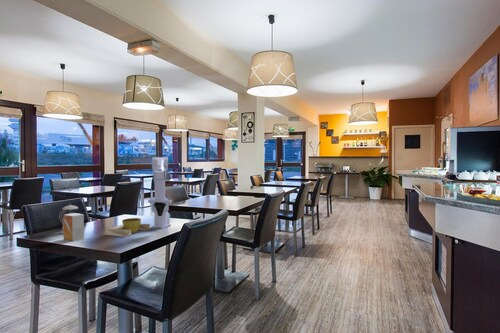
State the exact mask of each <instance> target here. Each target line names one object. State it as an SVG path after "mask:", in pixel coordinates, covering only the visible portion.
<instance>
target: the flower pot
mask: <svg viewBox="0 0 500 333" xmlns="http://www.w3.org/2000/svg"><path fill="white" fill-rule="evenodd" d="M121 222H122V225H123V226H124V228H125V229H126V230H131V234H136V233H137V232H138V231H139V230H138V229H139V226H140V223H141V222H142V219H141V218H139V217H131V218H124V219H122V220H121Z"/></svg>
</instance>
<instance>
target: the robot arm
mask: <svg viewBox="0 0 500 333" xmlns="http://www.w3.org/2000/svg"><path fill="white" fill-rule="evenodd" d="M168 166H169V158H168V157H167V156H165V157H164V156H163V157H160V156H159V157H158V156H156V157H154V156H153V157H152V158H151V168H152V171H153V182H154V198H150V199H149V198H148V199H147V201H148V203H149V204H151V211H152V213H153V214H154V216H153V219H154V220H153V221H154V223H153V224H154V225H152V226H151V228H156V229H164V228H167V227H169V226H172V225H171V224H170V221H171V220H170V218H171V217H170V213H169V212H168V211H169V205H170V204H173V199H169V198H167V197H166V180H167V178H166V177H167V172H168V169H169V167H168Z"/></svg>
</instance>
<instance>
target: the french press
mask: <svg viewBox="0 0 500 333" xmlns="http://www.w3.org/2000/svg"><path fill="white" fill-rule="evenodd" d="M67 191H69V192H71V191H73V189H72V188H68V189H67ZM78 209H79V207H78V206H77V205H71V204H68V205H66V206H64V207H63V208H61V211H60V212H59V215H58V217H59V221H60V222H61V223H62V231H61V232H60V233H61V234H62V235H64V224H63V218H61V216H60V215H61V214H64V213H66V212H67V211H68V210H69V214H71V213H72V212H71V211H73V210H78Z"/></svg>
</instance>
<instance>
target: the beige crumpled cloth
mask: <svg viewBox="0 0 500 333" xmlns="http://www.w3.org/2000/svg"><path fill="white" fill-rule="evenodd" d="M149 230H151V224H150V223H143V222H142V223H140V226H139V229H138V230H137V231H149ZM105 235H106V236H111V237H112V236H114V237H125V238H127V237H131V236H132V233H131V230H126V229H125V228H124V226H123V224H121V225H118V226H114V227H110V228H106V229H105Z"/></svg>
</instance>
